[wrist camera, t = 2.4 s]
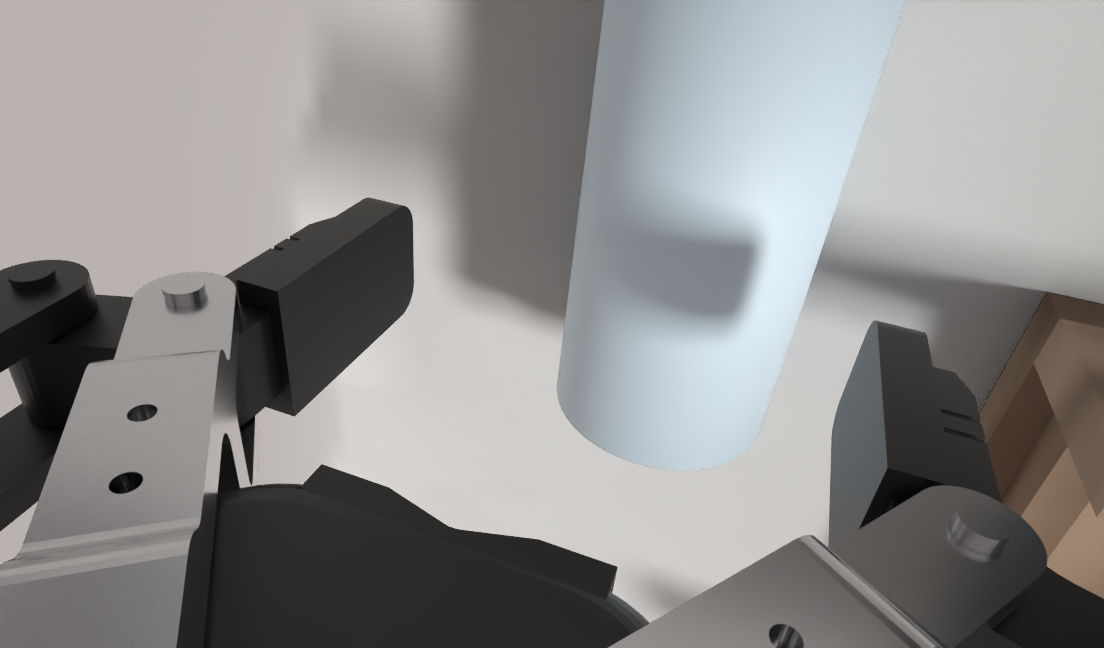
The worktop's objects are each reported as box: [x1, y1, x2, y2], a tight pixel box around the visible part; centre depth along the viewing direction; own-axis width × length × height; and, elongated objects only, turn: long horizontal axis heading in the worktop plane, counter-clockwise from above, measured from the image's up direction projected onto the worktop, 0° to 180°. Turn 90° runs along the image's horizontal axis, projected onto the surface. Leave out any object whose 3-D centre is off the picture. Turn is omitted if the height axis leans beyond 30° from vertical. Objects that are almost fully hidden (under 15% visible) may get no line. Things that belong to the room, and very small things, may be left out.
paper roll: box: [557, 0, 906, 471], centre depth 15 cm, size 11×5×5 cm, turn 174°
